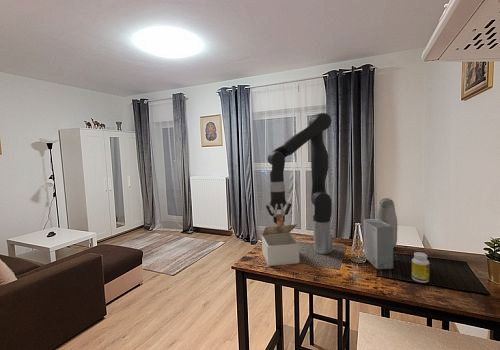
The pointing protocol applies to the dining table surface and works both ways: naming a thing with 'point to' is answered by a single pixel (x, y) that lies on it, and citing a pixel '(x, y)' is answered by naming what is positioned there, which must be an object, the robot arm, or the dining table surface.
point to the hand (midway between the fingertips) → (279, 222)
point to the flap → (278, 227)
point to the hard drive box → (378, 243)
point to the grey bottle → (388, 216)
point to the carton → (280, 249)
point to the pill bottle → (420, 267)
